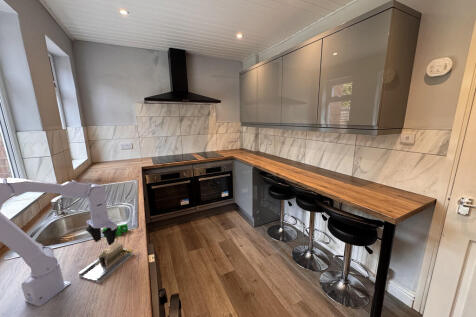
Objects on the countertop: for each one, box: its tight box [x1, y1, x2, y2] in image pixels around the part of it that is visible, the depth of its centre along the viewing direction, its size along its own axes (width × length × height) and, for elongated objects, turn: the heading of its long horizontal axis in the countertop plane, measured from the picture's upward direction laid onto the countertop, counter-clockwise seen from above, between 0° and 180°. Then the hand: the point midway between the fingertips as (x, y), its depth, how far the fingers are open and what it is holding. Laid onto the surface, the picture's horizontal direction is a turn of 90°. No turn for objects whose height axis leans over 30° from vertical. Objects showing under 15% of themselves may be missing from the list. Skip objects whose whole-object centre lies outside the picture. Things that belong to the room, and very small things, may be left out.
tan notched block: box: [97, 242, 124, 267], centre depth 82 cm, size 8×4×5 cm, turn 164°
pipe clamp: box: [102, 223, 129, 238], centre depth 102 cm, size 11×4×5 cm, turn 111°
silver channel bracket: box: [77, 247, 134, 284], centre depth 81 cm, size 16×11×3 cm
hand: (104, 242), depth 81 cm, fingers open, 7 cm apart
